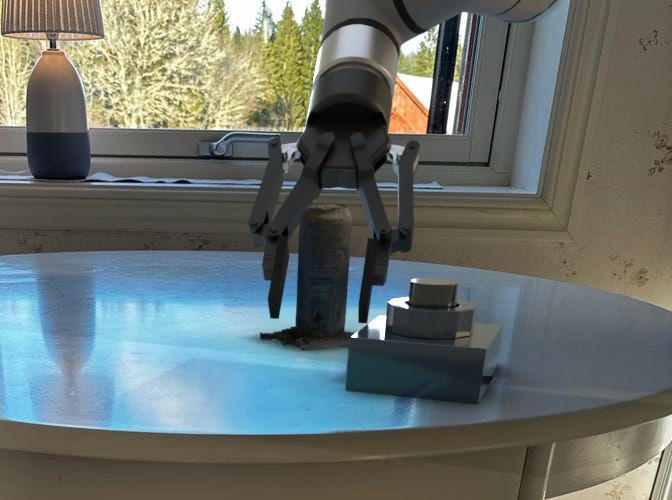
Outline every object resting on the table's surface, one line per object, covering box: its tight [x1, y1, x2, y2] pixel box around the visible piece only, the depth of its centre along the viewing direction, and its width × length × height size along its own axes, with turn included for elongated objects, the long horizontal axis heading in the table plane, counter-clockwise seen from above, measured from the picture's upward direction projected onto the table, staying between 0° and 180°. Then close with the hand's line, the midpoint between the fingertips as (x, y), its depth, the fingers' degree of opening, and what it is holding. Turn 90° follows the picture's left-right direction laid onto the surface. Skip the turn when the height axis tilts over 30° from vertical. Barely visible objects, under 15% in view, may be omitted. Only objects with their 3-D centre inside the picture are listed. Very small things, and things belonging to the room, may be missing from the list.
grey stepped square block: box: [344, 296, 504, 405], centre depth 74 cm, size 10×10×6 cm
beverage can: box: [258, 203, 356, 352], centre depth 84 cm, size 9×8×12 cm
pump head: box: [408, 277, 460, 309], centre depth 72 cm, size 4×4×2 cm
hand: (317, 311), depth 82 cm, fingers open, 7 cm apart
